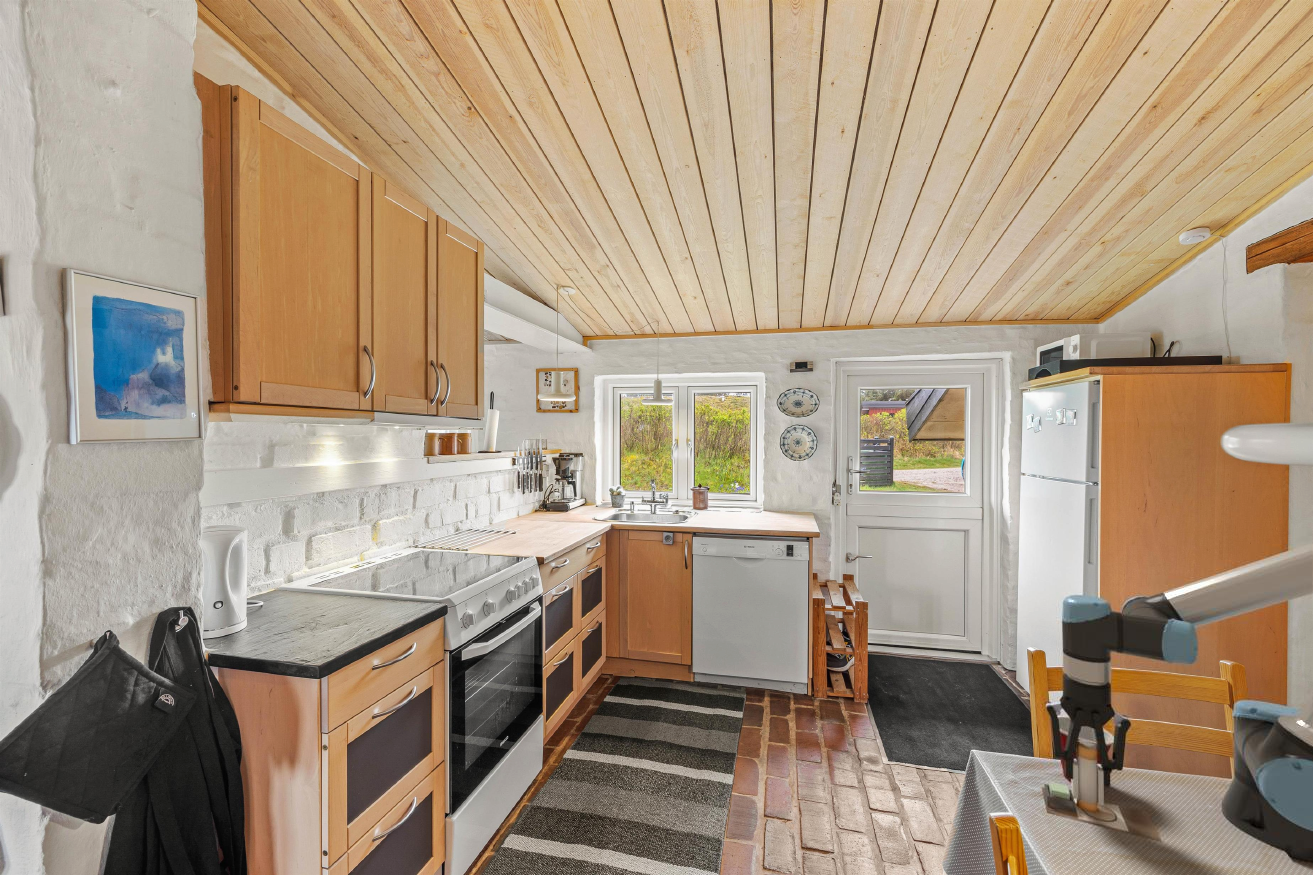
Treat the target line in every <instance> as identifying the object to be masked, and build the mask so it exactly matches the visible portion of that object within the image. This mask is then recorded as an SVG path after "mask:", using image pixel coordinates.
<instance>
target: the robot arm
mask: <svg viewBox="0 0 1313 875" xmlns="http://www.w3.org/2000/svg"><path fill="white" fill-rule="evenodd" d="M1311 594H1313V542H1310V543H1308V544H1305V545H1302V546H1298V547H1296V548H1292V549H1288V550H1287V551H1285V552H1280V553H1278V554H1275V555H1274V554H1273V555H1272V556H1269V557H1265V558H1262V559H1260V560H1257V561H1253V562H1251V563H1250V562H1249V563H1248V564H1244V565H1241V566H1238V567H1236V568H1235V567H1234V568H1233V569H1229V570H1226V571H1223V572H1221V573H1218V574H1217V573H1216V574H1214V575H1211V576H1209V577H1205V578H1203V579H1199V580H1196V581H1193V582H1190V583H1187V584H1184V585H1181V586H1179V587H1178V586H1177V587H1175V588H1171V589H1169V590H1166V591H1162V592H1160V593H1157V594H1154V595H1150V596H1144V595H1136V596H1132V597H1130V598H1129V599H1127V600H1126V601H1125V602H1124V603H1123V605H1122V608H1121V612H1117V611H1113V610H1112V607H1111V603H1110V602H1109V601H1108V600H1106V599H1104V598H1100V597H1098V596H1097V597H1095V596H1092V595H1084V594H1073V595H1068V596H1066V597H1065V598H1064V599H1063V602H1062V616H1061V626H1062V628H1061V629H1062V630H1061V632H1062V636H1061V638H1062V672H1063V673H1064V674H1062V696H1061V697H1060V698H1059V701H1057V702H1050V701H1046V702H1045V708H1046V711H1047V713H1048V715H1049V719H1050V730H1051V738H1052V739H1051V740H1052V741H1051V742H1052V748H1053V752H1054V755H1055V756H1056V758H1058V759H1060V758H1062V759H1064V760H1065V774H1066V777H1067V778H1070V779H1071V782H1070V785H1071V786H1070V788H1071V789H1070V790H1071V791H1072V795H1073V798H1074V799H1078V764H1077V761H1076V759H1074V757H1075V752H1076V747H1077V742H1078V737H1079V732H1080V731H1081V726H1088V727H1091V728H1093V729H1094V733H1095V738H1096V743H1097V748H1098V752H1099V757H1100V762H1101V764H1097V789H1098V804H1099V805H1103V806H1104V802H1105V800H1104V799H1105V796H1104V794H1105V793H1104V787H1106V788H1110V787H1111V773H1112V772H1113V771H1115V770H1117V771H1123V769H1124V760H1125V750H1126V738H1127V733H1128V731H1129V729H1130V728H1131V726H1132V722H1131V721H1130V720H1129V717H1128V716H1127V715H1126V714H1120V713H1118V712H1116V711H1115V710H1114V707H1113V706H1112V684H1111V683H1110V682H1111V681H1112V666H1111V665H1112V662H1111V660H1112V656H1111V654H1112V653H1116V654H1117V653H1118V654H1121V655H1122V654H1123V655H1127V656H1133V657H1138V658H1145V659H1151V660H1156V661H1159V662H1160V661H1162V662H1166V663H1169V664H1183V665H1193V664H1196V662H1197V660H1198V656H1199V643H1198V640H1199V639H1198V635H1197V630H1196V629H1197V628H1199V627H1203V626H1206V625H1209V624H1213V623H1216V622H1220V621H1223V620H1227V619H1230V618H1233V617H1236V616H1240V615H1243V614H1247V613H1250V612H1253V611H1254V612H1255V611H1258V610H1260V609H1264V608H1268V607H1271V606H1273V605H1274V606H1275V605H1277V604H1281V603H1284V602H1288V601H1292V600H1294V599H1298V598H1302V597H1305V596H1309V595H1311ZM1061 710H1062V711H1063V710H1064V712H1065V714H1067V717H1070V727H1069V732H1068V737H1067V742H1066V747H1065V750H1063V749H1062V747H1061V737H1060V727H1059V719H1058V717H1059V716H1060V715H1061ZM1231 716H1232V718H1233V779H1232V781H1231V782H1230V784H1229V787H1228V789H1227V791H1226V793H1225V794H1224V796H1223V798H1222V801H1221V812H1222V813H1221V814H1222V815H1223V816H1224V818H1225V819H1226V820H1227V821H1228V822H1229V823H1230V824H1231V825H1233V826H1234V827H1235V828H1237V829H1238V830H1240V831H1241V832H1243V833H1245V834H1246V835H1249V836H1250V837H1252V838H1253V839H1256V840H1257V841H1260V842H1262V843H1265V844H1267V845H1270V846H1272V847H1274V848H1276V849H1280V850H1283V851H1284V852H1285V854H1287V855H1288V857H1291V858H1295V859H1299V860H1303V861H1307V862H1311V863H1313V689H1312V690H1311V692H1310V693H1309V694H1308V696H1307V698H1306V699H1305V701H1304V703H1303V704H1302V706H1301V707H1300V709H1299V708H1294V707H1291V706H1287V705H1283V704H1277V703H1273V702H1272V703H1271V702H1266V701H1260V700H1251V699H1250V700H1248V699H1243V700H1238V701H1236V702H1235V703H1234V705H1233V712H1232V713H1231ZM1112 719H1113V724H1114V732H1113V733H1114V734H1113V736H1114V743H1113V744H1112V754H1111V755H1112V756H1111V758H1109V751H1108V752H1107V747H1106V742H1105V737H1104V731H1103V729H1104V726H1105V725H1106V724H1108V722H1110V721H1111V720H1112Z"/></svg>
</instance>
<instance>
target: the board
mask: <svg viewBox="0 0 1313 875" xmlns="http://www.w3.org/2000/svg"><path fill="white" fill-rule="evenodd" d="M1043 786H1044V787H1042V786H1041V791H1042V796H1043V800H1044V805H1045V809H1046V813H1047V814H1050V815H1055V816H1059V817H1062V818H1067V819H1070V820H1073V821H1074V820H1075V821H1078V822H1082V823H1087V824H1090V825H1093V826H1098V827H1103V828H1105V829H1110V830H1113V831H1118V832H1121V833H1125V834H1130V835H1132V836H1136V837H1141V838H1145V839H1149V840H1152V841H1157V842H1161V843H1163V841H1162V838H1161V837H1160V835H1159V833H1158V831H1157V828H1156V826H1155V824H1154V822H1153V820H1152V818H1151V816H1150V814H1149V811H1144V810H1139V809H1135V808H1133V807H1128V806H1123V805H1119V804H1114V803H1112V802H1111V803H1110V802H1105V801H1104V806H1103V805H1099V804H1098V811H1097V812H1088V811H1085V810H1083V809H1081V808H1080V807H1078V806H1077V799H1074V798H1073V795H1072V791H1071V789H1069V788H1068V790H1069V793H1070V800H1067V799H1063V798H1059V797H1054V796H1050V793H1049V783H1044V785H1043Z"/></svg>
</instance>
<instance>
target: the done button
mask: <svg viewBox="0 0 1313 875" xmlns="http://www.w3.org/2000/svg"><path fill="white" fill-rule="evenodd" d="M1048 785H1049V793H1050V796H1054V797H1059V798H1063V799H1067V800H1070V793H1069V790H1070V789H1069V787H1068V785H1065V784H1060V783H1058V782H1057V783H1056V782H1051V781H1048ZM1068 789H1069V790H1068Z"/></svg>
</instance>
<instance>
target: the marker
mask: <svg viewBox="0 0 1313 875" xmlns="http://www.w3.org/2000/svg"><path fill="white" fill-rule="evenodd" d="M1076 753H1077V764H1078V799H1077V806H1078V807H1080V808H1081V809H1083V810H1085V811H1088V812H1097V811H1098V789H1097V759H1098V748H1097V746H1096V745H1094V744H1092V743H1090V742H1087V741H1078V742H1077V747H1076Z"/></svg>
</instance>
